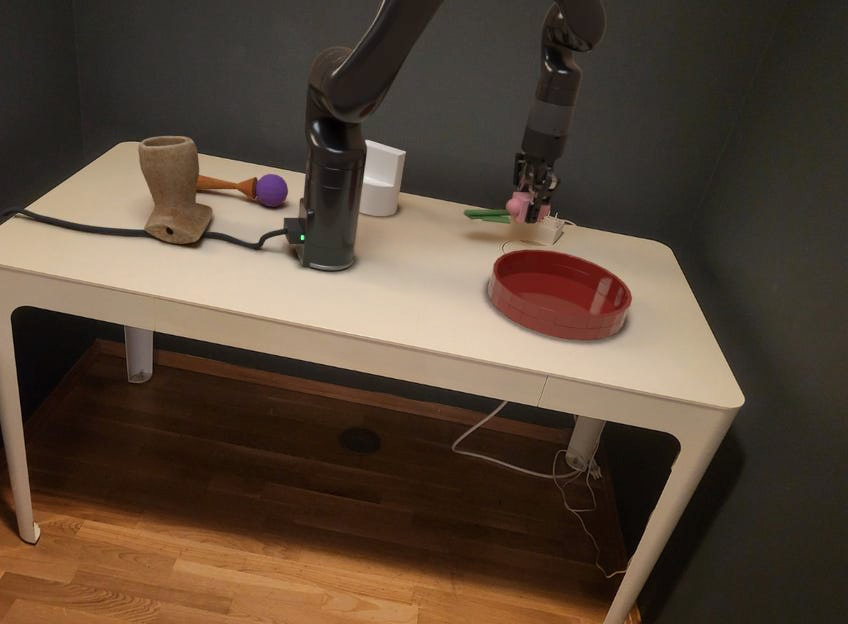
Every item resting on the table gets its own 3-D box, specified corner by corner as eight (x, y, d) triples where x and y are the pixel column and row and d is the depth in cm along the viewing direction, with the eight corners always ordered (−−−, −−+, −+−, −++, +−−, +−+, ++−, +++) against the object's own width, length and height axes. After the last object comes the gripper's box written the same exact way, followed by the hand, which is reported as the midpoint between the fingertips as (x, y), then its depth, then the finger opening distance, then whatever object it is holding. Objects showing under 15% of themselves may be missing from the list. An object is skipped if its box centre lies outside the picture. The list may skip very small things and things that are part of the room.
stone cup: (152, 205, 134) (150, 122, 126) (218, 214, 134) (220, 132, 126) (125, 240, 121) (120, 151, 113) (198, 251, 122) (198, 162, 114)
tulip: (468, 224, 133) (473, 202, 131) (457, 210, 138) (461, 189, 135) (552, 224, 138) (558, 202, 136) (538, 211, 143) (544, 190, 140)
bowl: (523, 344, 111) (530, 319, 108) (467, 273, 128) (472, 249, 126) (649, 339, 117) (659, 314, 115) (580, 271, 135) (587, 249, 132)
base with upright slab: (343, 206, 145) (350, 146, 139) (365, 194, 152) (373, 136, 146) (383, 220, 142) (392, 159, 136) (404, 207, 149) (414, 148, 142)
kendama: (190, 162, 143) (291, 173, 141) (190, 193, 145) (290, 205, 143) (178, 166, 137) (284, 178, 135) (178, 199, 140) (282, 210, 138)
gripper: (511, 112, 134) (491, 202, 144) (547, 139, 123) (522, 234, 132) (548, 114, 136) (525, 202, 146) (587, 140, 125) (559, 234, 135)
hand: (524, 217), depth 139 cm, fingers closed on tulip, 4 cm apart
